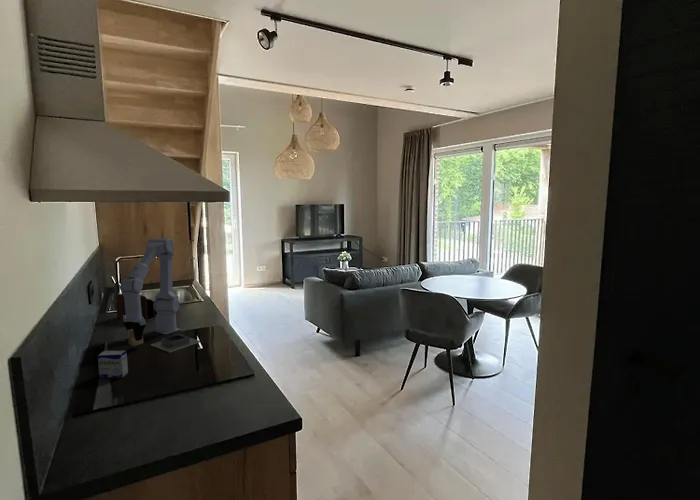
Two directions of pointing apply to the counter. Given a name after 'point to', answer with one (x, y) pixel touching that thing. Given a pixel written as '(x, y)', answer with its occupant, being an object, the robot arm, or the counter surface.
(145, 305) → the letter holder
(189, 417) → the counter surface
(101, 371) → the box
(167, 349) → the socket plate
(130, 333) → the beige rectangular block
